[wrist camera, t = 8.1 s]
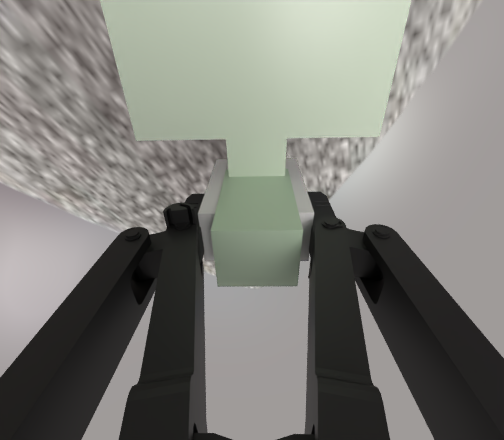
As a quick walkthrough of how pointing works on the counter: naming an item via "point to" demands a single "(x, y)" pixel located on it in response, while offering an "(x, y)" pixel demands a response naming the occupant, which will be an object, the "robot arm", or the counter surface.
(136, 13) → the lid
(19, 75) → the counter surface
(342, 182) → the counter surface
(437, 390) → the robot arm
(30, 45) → the counter surface
